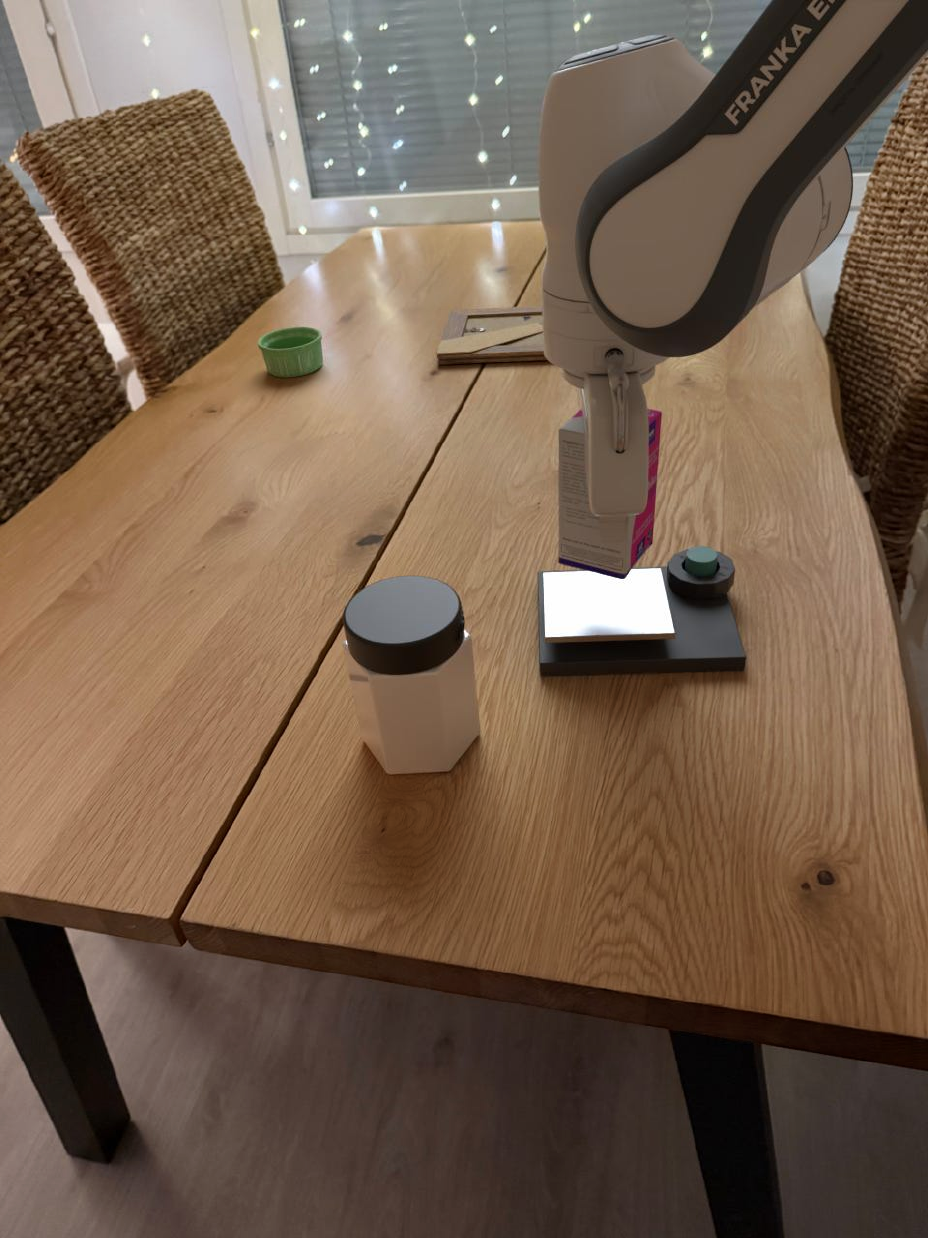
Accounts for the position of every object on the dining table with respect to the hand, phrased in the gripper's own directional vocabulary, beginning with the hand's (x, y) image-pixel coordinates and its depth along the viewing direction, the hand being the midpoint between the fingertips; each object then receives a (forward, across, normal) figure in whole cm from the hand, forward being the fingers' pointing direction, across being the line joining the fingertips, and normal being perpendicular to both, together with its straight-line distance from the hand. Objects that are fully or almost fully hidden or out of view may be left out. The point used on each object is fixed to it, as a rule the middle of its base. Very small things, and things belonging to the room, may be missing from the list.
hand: (606, 506), depth 69 cm
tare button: (+10, +5, -9) cm, 14 cm away
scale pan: (+10, 0, 0) cm, 10 cm away
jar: (+13, -11, +14) cm, 22 cm away
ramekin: (+13, +65, +40) cm, 77 cm away
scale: (+12, +2, -2) cm, 13 cm away
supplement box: (+4, 0, 0) cm, 5 cm away
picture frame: (+13, +71, +6) cm, 72 cm away
